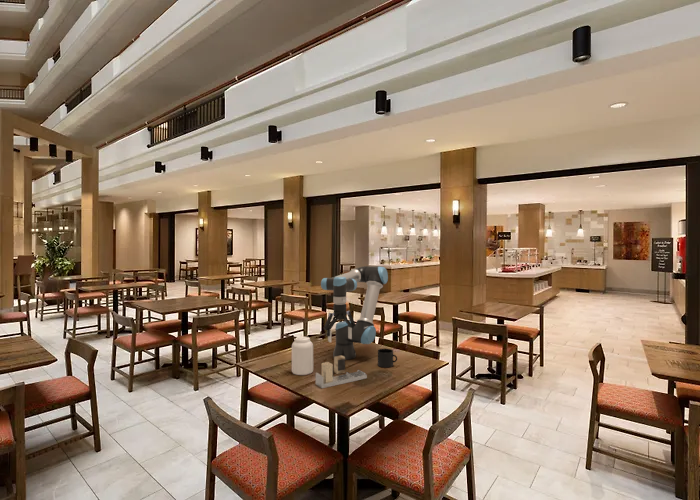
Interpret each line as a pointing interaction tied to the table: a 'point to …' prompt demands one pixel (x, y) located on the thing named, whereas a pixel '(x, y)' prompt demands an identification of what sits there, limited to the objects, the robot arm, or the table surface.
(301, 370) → the white jar
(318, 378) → the rail
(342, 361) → the beige upright block
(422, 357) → the table surface
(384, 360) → the mug
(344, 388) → the table surface
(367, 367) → the table surface
